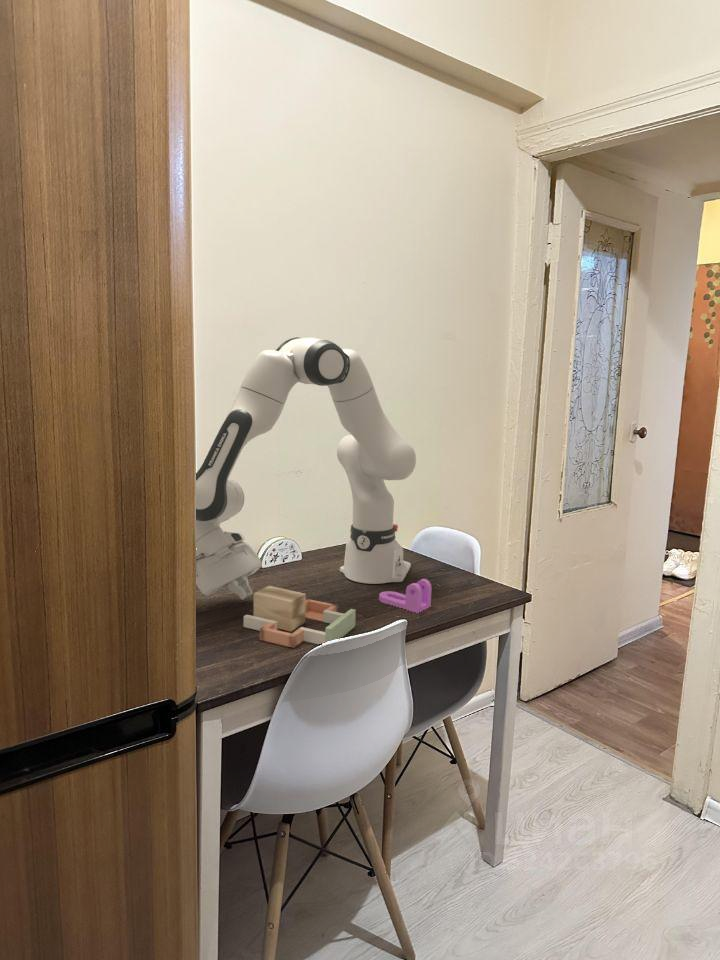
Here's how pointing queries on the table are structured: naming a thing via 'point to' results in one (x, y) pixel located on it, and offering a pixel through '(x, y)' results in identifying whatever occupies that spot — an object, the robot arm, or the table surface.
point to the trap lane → (314, 611)
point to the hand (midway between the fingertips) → (247, 596)
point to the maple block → (280, 607)
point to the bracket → (410, 597)
